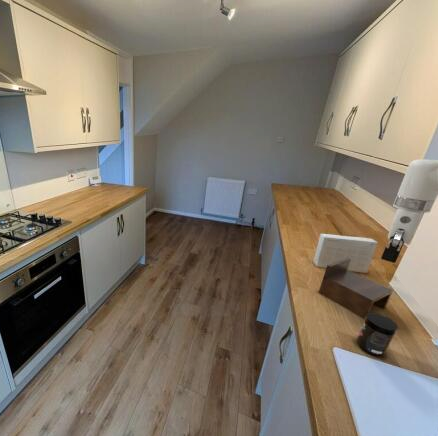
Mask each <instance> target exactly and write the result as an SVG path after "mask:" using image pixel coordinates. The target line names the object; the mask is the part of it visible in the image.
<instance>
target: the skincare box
mask: <svg viewBox="0 0 438 436" xmlns="http://www.w3.org/2000/svg"><path fill="white" fill-rule="evenodd" d="M317 242H318V243H317V246H316V251H315V254H314V257H313V261H312V263H313V265H315V267H317V268H323V269H326V268H327V265H329V264H332V263H335V262H338V261H340V260H343V259H346V258H349V259H351V261H350V263H349V266H348V269H347V270H349V271H351V272H354V273H362V274H368V273H369V269H370V266H371V264H372V261H373V258H374V255H375V252H376V250H377V246H378V244H379V242H378V241H376V240H375V239H373V238H369V237H361V236H349V235H340V234H339V235H338V234H328V233H320V234H319V238H318V241H317Z"/></svg>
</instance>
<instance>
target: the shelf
mask: <svg viewBox="0 0 438 436" xmlns="http://www.w3.org/2000/svg"><path fill="white" fill-rule="evenodd" d="M350 261H351V259H349V258H346V259H343V260H340V261H338V262H335V263H332V264H329V265H327V268H325V271H324V274H323V277H322V280H321V283H320V287H319V290H318V293H319V294H320V295H322V296H323V297H326V298H327V299H330V300H331V301H332V302H335V303H336V304H338V305H340V306H342V307H343V308H345V309H347V310H349V311H350V312H352V313H354V314H355V315H357V316H359V317H361V318H362V319H364V320H365V317H366V315H367V314H368V313H371V310H372V307H373V305H376V306H378V307H380V308H381V309H386V307H387V305H388V304H389V302H390V300H391V296H392V295H393V293H394V289H392V288H390V287H387V286H385V285H382V284H381V283H378V282H376V281H374V280H372V279H369V278H367V277H365V276H362V275H360V274H358V273H357V272H353V271H349V270H347V269H348V266H349V263H350Z"/></svg>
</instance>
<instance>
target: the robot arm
mask: <svg viewBox="0 0 438 436" xmlns="http://www.w3.org/2000/svg"><path fill="white" fill-rule="evenodd" d="M437 198H438V159H427V158H426V159H424V158H421V159H414V160H412V161H411V162H410V163H409V164H408V167H407V169H406V171H405V174H404V177H403V179H402V181H401V184H400V186H399V189H398V192H397V194H396V197H395V199H394V201H393V204H392V207H393V208H396V211H395V214H394V216H393V219H392V222H391V224H390V227H389V232H388V234H387V238H386V239H387V240H388V243H387V245H386V246H385V247H384V249H383V253H382V254H381V257H380V259H381V260H383V261H385V262H390V263H393V264H395V263H396V262H397V260H398V258H399V256H400V253H401V251H402V249H403V246H404V244H406V245H407V246H409V245H410V244H411V243H412V241H413V239H414V236H415V234H416V232H417V231H418V228H419V226H420V223H421V221H422V219H423V216H424V213H430V212H431V210H432V209H433V206H434V204H435V202H436V200H437Z"/></svg>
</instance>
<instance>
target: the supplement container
mask: <svg viewBox="0 0 438 436" xmlns="http://www.w3.org/2000/svg"><path fill="white" fill-rule="evenodd" d="M398 327H399V326H398V324H397V323H396V322H394V320H392V319H391V318H389V317H387V316H385V315H383V314H380V313H376V312H369V313H368V314H367V315H366V317H365V319H364V320H363V322H362V324H361V327H360V330H359V333H358V335H357V337H356V339H355V341H356V345H357V346H358V347H359V348H360V350H362V351H364V352H365V353H367V354H368V355H371V356H375V357H384V356H385V355H386V353H387V351H388V349H389V347H390V345H391V342H392V341H393V339H394V336H395V334H396V333H397V331H398V329H399V328H398Z"/></svg>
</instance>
